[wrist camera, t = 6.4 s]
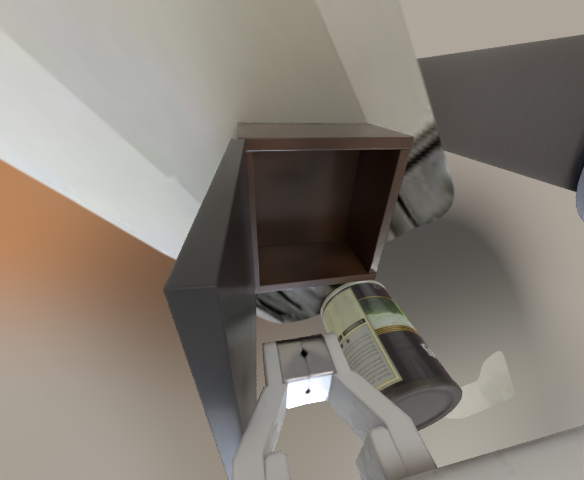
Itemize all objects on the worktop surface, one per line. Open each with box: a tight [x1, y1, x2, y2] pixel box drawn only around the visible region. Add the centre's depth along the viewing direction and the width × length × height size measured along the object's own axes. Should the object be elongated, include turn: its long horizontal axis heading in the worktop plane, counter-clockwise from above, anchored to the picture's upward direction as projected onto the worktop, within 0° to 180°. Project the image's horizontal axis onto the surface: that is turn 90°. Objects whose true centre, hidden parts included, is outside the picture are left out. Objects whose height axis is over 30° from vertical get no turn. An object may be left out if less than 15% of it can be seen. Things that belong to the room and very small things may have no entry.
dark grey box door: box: [163, 139, 256, 480], centre depth 12 cm, size 12×13×1 cm
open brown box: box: [237, 123, 414, 293], centre depth 21 cm, size 12×13×7 cm
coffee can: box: [320, 280, 462, 431], centre depth 29 cm, size 10×10×14 cm
